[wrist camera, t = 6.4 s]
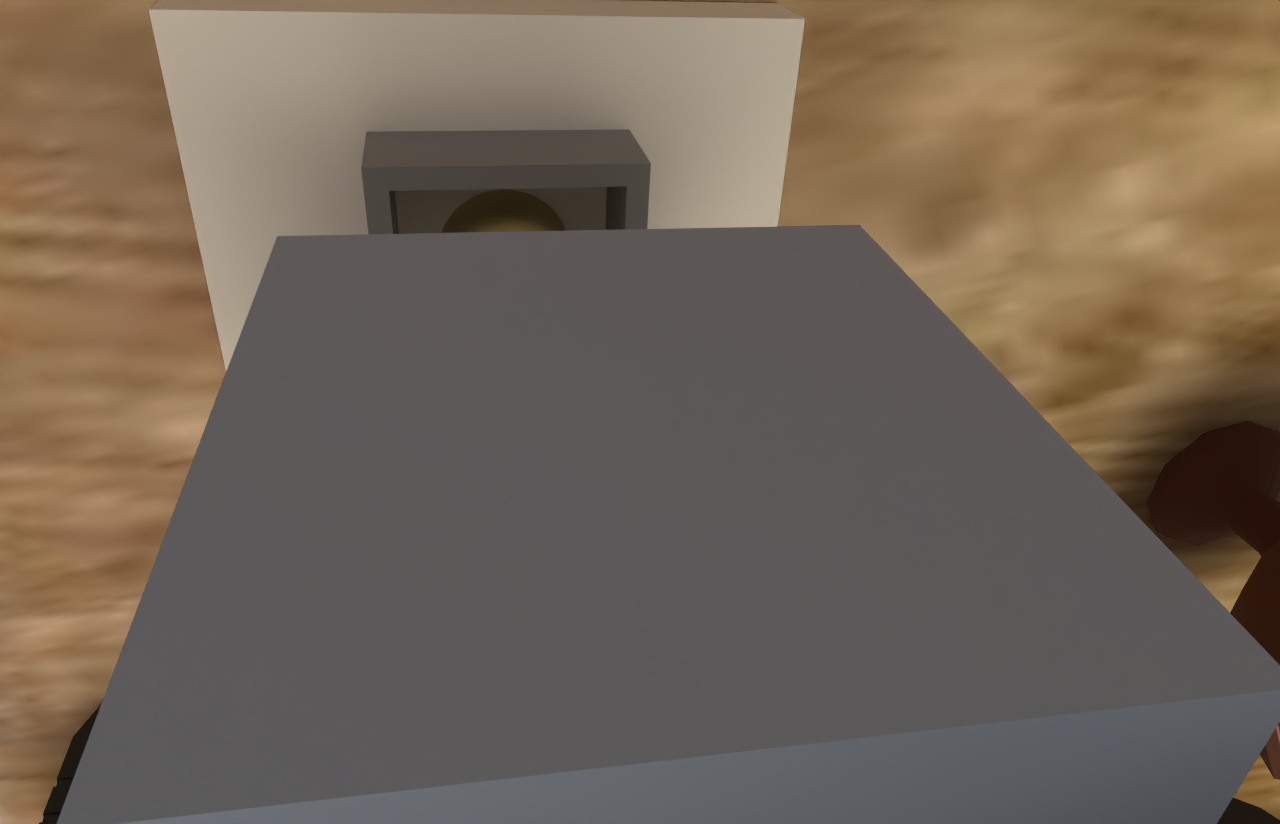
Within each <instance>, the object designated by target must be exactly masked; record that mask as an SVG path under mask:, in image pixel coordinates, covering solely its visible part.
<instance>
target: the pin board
mask: <svg viewBox="0 0 1280 824" xmlns="http://www.w3.org/2000/svg"><path fill="white" fill-rule="evenodd" d="M149 14H150V18H151V23H152V28H153V32H154V37H155V42H156V47H157V51H158V56H159V61H160V65H161V70H162V75H163V79H164V84H165V89H166V93H167V98H168V103H169V107H170V112H171V117H172V121H173V126H174V131H175V135H176V140H177V145H178V149H179V154H180V159H181V163H182V168H183V173H184V177H185V182H186V187H187V192H188V196H189V201H190V206H191V210H192V215H193V220H194V224H195V229H196V234H197V238H198V243H199V248H200V252H201V257H202V262H203V266H204V271H205V276H206V280H207V285H208V290H209V294H210V299H211V304H212V308H213V313H214V318H215V322H216V327H217V332H218V336H219V341H220V346H221V351H222V355H223V360H224V365H225V369H226V371H227V369H228V366H229V363H230V361H231V358H232V355H233V353H234V350H235V347H236V345H237V342H238V339H239V337H240V334H241V331H242V329H243V326H244V323H245V321H246V318H247V315H248V313H249V310H250V307H251V305H252V302H253V299H254V297H255V294H256V291H257V289H258V286H259V283H260V281H261V278H262V275H263V273H264V270H265V267H266V265H267V262H268V259H269V257H270V254H271V251H272V249H273V246H274V243H275V241H276V238H277V236H309V235H361V234H414V233H467V232H519V231H572V230H624V229H677V228H729V227H777V226H778V219H779V211H780V204H781V196H782V189H783V181H784V174H785V166H786V159H787V151H788V144H789V136H790V128H791V121H792V113H793V106H794V98H795V91H796V83H797V76H798V68H799V61H800V53H801V45H802V38H803V30H804V23H805V19H804V18H802V17H801V16H799V15H797V14H795V13H794V12H792V11H790V10H789V9H787V8H785V7H783V6H782V5H780V4H778V3H735V2H679V1H623V0H160V1H159V2H157V3H156V4H155V5H154V6H152V7H151V8H150V9H149Z"/></svg>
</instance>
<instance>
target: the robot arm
mask: <svg viewBox="0 0 1280 824" xmlns="http://www.w3.org/2000/svg"><path fill="white" fill-rule="evenodd" d="M100 707H101V705H100V706H99V708H98V709H97V710H96V711H95V712H94V713H93V714H92V716H91V717H90V718H89V719H88V720H87V721H86V722H85V724H84V725H83V726H82V727H81V728H80V729H79V730H78V732H77V733H76V734H75V735H74V736H73V739H72V741H71V744H70V746H69V749H68V751H67V754H66V757H65V759H64V762H63V764H62V767H61V769H60V772H59V774H58V777H57V786H56V787H53V790H52V792H51V795H50V797H49V800H48V802H47V805H46V808H45V810H44V813H43V815H44V818H43V822H41V823H39V824H57V821H58V818H59V816H60V813H61V810H62V808H63V805H64V802H65V800H66V797H67V794H68V792H69V789H70V786H71V784H72V781H73V778H74V776H75V773H76V770H77V768H78V765H79V762H80V760H81V757H82V755H83V752H84V749H85V747H86V744H87V741H88V739H89V736H90V733H91V731H92V728H93V725H94V723H95V720H96V717H97V715H98V712H99V709H100ZM1217 824H1280V820H1278V819H1277V818H1275V817H1274V816H1272V815H1271V814H1269V813H1268V812H1266V811H1264V810H1263V809H1261V808H1259V807H1257V806H1254V805H1251V804H1249V803H1246V802H1243V801H1241V800H1238V799H1235V798H1232V800H1231V801H1230V803H1229V805H1228V806H1227V808H1226V810H1225V811H1224V813H1223V814H1222V816H1221V818H1220V819H1219V821H1218V823H1217Z"/></svg>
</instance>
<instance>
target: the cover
mask: <svg viewBox="0 0 1280 824" xmlns="http://www.w3.org/2000/svg"><path fill="white" fill-rule="evenodd" d="M1279 722H1280V665H1279V664H1278V663H1277V662H1276V661H1275V660H1274V659H1273V658H1272V657H1271V656H1270V655H1269V653H1268V652H1267V651H1266V650H1265V649H1264V648H1263V647H1262V646H1261V645H1260V644H1259V643H1258V642H1257V641H1256V640H1255V639H1254V638H1253V637H1252V636H1251V635H1250V634H1249V633H1248V631H1247V630H1246V629H1245V628H1244V627H1243V626H1242V625H1241V624H1240V623H1239V622H1238V621H1237V620H1236V619H1235V618H1234V617H1233V616H1232V615H1231V614H1230V613H1229V612H1228V611H1227V609H1226V608H1225V607H1224V606H1223V605H1222V604H1221V603H1220V602H1219V601H1218V600H1217V599H1216V598H1215V597H1214V596H1213V595H1212V594H1211V593H1210V592H1209V591H1208V590H1207V589H1206V587H1205V586H1204V585H1203V584H1202V583H1201V582H1200V581H1199V580H1198V579H1197V578H1196V577H1195V576H1194V575H1193V574H1192V573H1191V572H1190V571H1189V570H1188V569H1187V568H1186V567H1185V565H1184V564H1183V563H1182V562H1181V561H1180V560H1179V559H1178V558H1177V557H1176V556H1175V555H1174V554H1173V553H1172V552H1171V551H1170V550H1169V549H1168V548H1167V547H1166V546H1165V545H1164V543H1163V542H1162V541H1161V540H1160V539H1159V538H1158V537H1157V536H1156V535H1155V534H1154V533H1153V532H1152V531H1151V530H1150V529H1149V528H1148V527H1147V526H1146V525H1145V524H1144V523H1143V521H1142V520H1141V519H1140V518H1139V517H1138V516H1137V515H1136V514H1135V513H1134V512H1133V511H1132V510H1131V509H1130V508H1129V507H1128V506H1127V505H1126V504H1125V503H1124V502H1123V501H1122V499H1121V498H1120V497H1119V496H1118V495H1117V494H1116V493H1115V492H1114V491H1113V490H1112V489H1111V488H1110V487H1109V486H1108V485H1107V484H1106V483H1105V482H1104V481H1103V480H1102V479H1101V478H1100V476H1099V475H1098V474H1097V473H1096V472H1095V471H1094V470H1093V469H1092V468H1091V467H1090V466H1089V465H1088V464H1087V463H1086V462H1085V461H1084V460H1083V459H1082V458H1081V457H1080V456H1079V454H1078V453H1077V452H1076V451H1075V450H1074V449H1073V448H1072V447H1071V446H1070V445H1069V444H1068V443H1067V442H1066V441H1065V440H1064V439H1063V438H1062V437H1061V436H1060V435H1059V434H1058V432H1057V431H1056V430H1055V429H1054V428H1053V427H1052V426H1051V425H1050V424H1049V423H1048V422H1047V421H1046V420H1045V419H1044V418H1043V417H1042V416H1041V415H1040V414H1039V413H1038V412H1037V410H1036V409H1035V408H1034V407H1033V406H1032V405H1031V404H1030V403H1029V402H1028V401H1027V400H1026V399H1025V398H1024V397H1023V396H1022V395H1021V394H1020V393H1019V392H1018V391H1017V390H1016V388H1015V387H1014V386H1013V385H1012V384H1011V383H1010V382H1009V381H1008V380H1007V379H1006V378H1005V377H1004V376H1003V375H1002V374H1001V373H1000V372H999V371H998V370H997V369H996V368H995V366H994V365H993V364H992V363H991V362H990V361H989V360H988V359H987V358H986V357H985V356H984V355H983V354H982V353H981V352H980V351H979V350H978V349H977V348H976V347H975V346H974V344H973V343H972V342H971V341H970V340H969V339H968V338H967V337H966V336H965V335H964V334H963V333H962V332H961V331H960V330H959V329H958V328H957V327H956V326H955V325H954V324H953V322H952V321H951V320H950V319H949V318H948V317H947V316H946V315H945V314H944V313H943V312H942V311H941V310H940V309H939V308H938V307H937V306H936V305H935V304H934V303H933V302H932V300H931V299H930V298H929V297H928V296H927V295H926V294H925V293H924V292H923V291H922V290H921V289H920V288H919V287H918V286H917V285H916V284H915V283H914V282H913V281H912V280H911V278H910V277H909V276H908V275H907V274H906V273H905V272H904V271H903V270H902V269H901V268H900V267H899V266H898V265H897V264H896V263H895V262H894V261H893V260H892V259H891V258H890V257H889V255H888V254H887V253H886V252H885V251H884V250H883V249H882V248H881V247H880V246H879V245H878V244H877V243H876V242H875V241H874V240H873V239H872V238H871V237H870V236H869V235H868V233H867V232H866V231H865V230H864V229H863V228H862V227H861V226H860V225H835V226H782V227H729V228H677V229H624V230H572V231H519V232H467V233H414V234H361V235H309V236H277V238H276V241H275V243H274V246H273V249H272V251H271V254H270V257H269V259H268V262H267V265H266V267H265V270H264V273H263V275H262V278H261V281H260V283H259V286H258V289H257V291H256V294H255V297H254V299H253V302H252V305H251V307H250V310H249V313H248V315H247V318H246V321H245V323H244V326H243V329H242V331H241V334H240V337H239V339H238V342H237V345H236V347H235V350H234V353H233V355H232V358H231V361H230V363H229V366H228V369H227V371H226V374H225V377H224V379H223V382H222V385H221V387H220V390H219V393H218V395H217V398H216V401H215V403H214V406H213V408H212V411H211V414H210V416H209V419H208V422H207V424H206V427H205V430H204V432H203V435H202V438H201V440H200V443H199V446H198V448H197V451H196V454H195V456H194V459H193V462H192V464H191V467H190V470H189V472H188V475H187V478H186V480H185V483H184V486H183V488H182V491H181V494H180V496H179V499H178V502H177V504H176V507H175V510H174V512H173V515H172V518H171V520H170V523H169V526H168V528H167V531H166V534H165V536H164V539H163V542H162V544H161V547H160V550H159V552H158V555H157V558H156V560H155V563H154V566H153V568H152V571H151V574H150V576H149V579H148V582H147V584H146V587H145V589H144V592H143V595H142V597H141V600H140V603H139V605H138V608H137V611H136V613H135V616H134V619H133V621H132V624H131V627H130V629H129V632H128V635H127V637H126V640H125V643H124V645H123V648H122V651H121V653H120V656H119V659H118V661H117V664H116V667H115V669H114V672H113V675H112V677H111V680H110V683H109V685H108V688H107V691H106V693H105V696H104V699H103V701H102V704H101V707H100V709H99V712H98V715H97V717H96V720H95V723H94V725H93V728H92V731H91V733H90V736H89V739H88V741H87V744H86V747H85V749H84V752H83V755H82V757H81V760H80V762H79V765H78V768H77V770H76V773H75V776H74V778H73V781H72V784H71V786H70V789H69V792H68V794H67V797H66V800H65V802H64V805H63V808H62V810H61V813H60V816H59V818H58V821H57V824H1217V823H1218V821H1219V819H1220V818H1221V816H1222V814H1223V813H1224V811H1225V810H1226V808H1227V806H1228V805H1229V803H1230V801H1231V800H1232V798H1233V797H1234V795H1235V793H1236V792H1237V790H1238V789H1239V787H1240V785H1241V784H1242V782H1243V780H1244V779H1245V777H1246V776H1247V774H1248V772H1249V771H1250V769H1251V767H1252V766H1253V764H1254V763H1255V761H1256V759H1257V758H1258V756H1259V754H1260V753H1261V751H1262V750H1263V748H1264V746H1265V745H1266V743H1267V741H1268V740H1269V738H1270V737H1271V735H1272V733H1273V732H1274V730H1275V728H1276V727H1277V725H1278V724H1279Z"/></svg>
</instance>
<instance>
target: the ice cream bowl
mask: <svg viewBox="0 0 1280 824" xmlns="http://www.w3.org/2000/svg"><path fill="white" fill-rule="evenodd" d="M1279 492H1280V433H1279V432H1277V431H1274V430H1272V429H1269V428H1266V427H1263V426H1261V425H1258V424H1255V423H1253V422H1250V421H1246V422H1243V423H1239V424H1236V425H1233V426H1229V427H1226V428H1222V429H1219V430H1216V431H1212V432H1209V433H1206V434H1203V435H1202V436H1201V437H1200V438H1199V439H1197V440H1196V441H1195V442H1194V443H1193V444H1191V445H1190V446H1189V447H1188V448H1186V449H1185V450H1184V451H1183V452H1182V453H1180V454H1179V455H1178V456H1177V457H1176V458H1174V459H1173V460H1172V461H1171V462H1169V463H1168V464H1167V465H1166V466H1165V468H1164V470H1163V472H1162V474H1161V476H1160V478H1159V480H1158V482H1157V484H1156V486H1155V488H1154V490H1153V492H1152V495H1151V497H1150V499H1149V501H1148V507H1149V510H1150V513H1151V516H1152V519H1153V523H1154V526H1155V529H1156V531H1158V532H1160V533H1162V534H1164V535H1166V536H1168V537H1171V538H1174V539H1178V540H1181V541H1185V542H1188V543H1192V544H1195V545H1200V544H1203V543H1206V542H1210V541H1213V540H1216V539H1220V538H1223V537H1226V536H1230V535H1233V534H1237V535H1239V536H1240V537H1241V538H1242V539H1243V540H1245V541H1246V542H1247V543H1248V544H1249V545H1250V546H1252V547H1253V548H1254V549H1255V550H1256V551H1258V552H1259V553H1260V555H1261V558H1260V560H1259V562H1258V564H1257V565H1256V567H1255V569H1254V570H1253V572H1252V574H1251V576H1250V577H1249V579H1248V581H1247V582H1246V584H1245V586H1244V588H1243V589H1242V591H1241V593H1240V595H1239V597H1238V599H1237V601H1236V603H1235V605H1234V607H1233V609H1232V610H1231V612H1230V614H1231V615H1232V616H1233V617H1234V618H1235V619H1236V620H1237V621H1238V622H1239V623H1240V624H1241V625H1242V626H1243V627H1244V628H1245V629H1246V630H1247V631H1248V633H1249V634H1250V635H1251V636H1252V637H1253V638H1254V639H1255V640H1256V641H1257V642H1258V643H1259V644H1260V645H1261V646H1262V647H1263V648H1264V649H1265V650H1266V651H1267V652H1268V653H1269V655H1270V656H1271V657H1272V658H1273V659H1274V660H1275V661H1276V662H1277V663H1278V664H1279V665H1280V503H1279V502H1278V501H1277V500H1275V499H1276V497H1277V496H1278V494H1279ZM1260 755H1261V757H1262V759H1263V760H1264V762H1265V764H1266V765H1267V767H1268V769H1269V771H1270V772H1271V774H1272V776H1273V777H1274V779H1280V722H1279V724H1278V725H1277V727H1276V728H1275V730H1274V732H1273V733H1272V735H1271V737H1270V738H1269V740H1268V741H1267V743H1266V745H1265V746H1264V748H1263V750H1262V751H1261V753H1260Z"/></svg>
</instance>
